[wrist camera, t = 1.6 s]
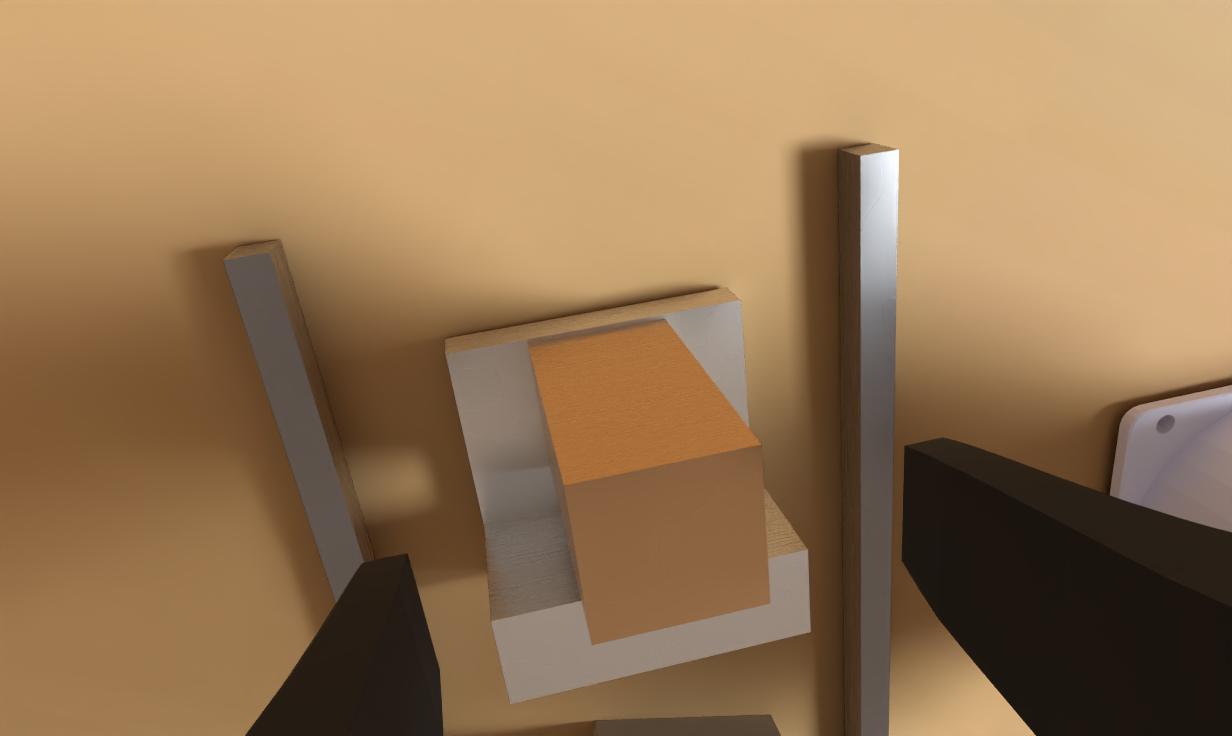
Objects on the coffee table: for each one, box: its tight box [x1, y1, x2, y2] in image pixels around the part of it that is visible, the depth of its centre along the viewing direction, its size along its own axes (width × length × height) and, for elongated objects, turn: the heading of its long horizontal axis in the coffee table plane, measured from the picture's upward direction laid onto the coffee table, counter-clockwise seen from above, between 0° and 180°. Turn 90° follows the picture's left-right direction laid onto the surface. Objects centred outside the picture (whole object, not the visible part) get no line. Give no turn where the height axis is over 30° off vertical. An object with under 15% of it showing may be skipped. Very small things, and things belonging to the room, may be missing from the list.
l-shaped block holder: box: [445, 288, 811, 704], centre depth 15 cm, size 6×6×6 cm
